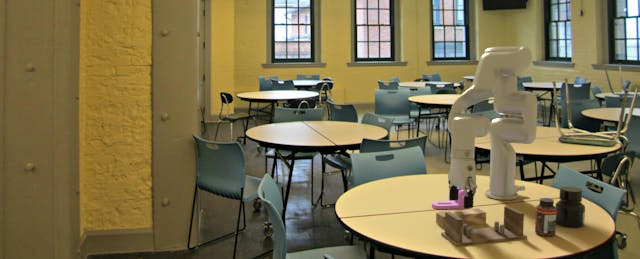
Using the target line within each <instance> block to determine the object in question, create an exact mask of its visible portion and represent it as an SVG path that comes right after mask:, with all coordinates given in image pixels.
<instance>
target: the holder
mask: <svg viewBox="0 0 640 259" xmlns="http://www.w3.org/2000/svg"><path fill="white" fill-rule="evenodd" d="M444 212H445V211H444ZM524 220H525V213H524V212H522V211H520V210H518V209H516V208H514V207H511V206H510V205H507V206H506V205H505V206H504V209H503V223H501V224H500V222H499V221H497V220H495V221H493V222H494V224H493V225H494V226H492V227H491V226H490V227H483V228H474V227H469V225H466V224H464V225H463V219H461V218H460V217H458V216H456V215H455V214H453V213H451V212H445V227H444V232H441V233H440V234H441V236H442V237H443V238H445V239H446V240H447V241H449V242H451V243H452V244H453V245H455V247H462V246H470V245H479V244H481V245H482V244H488V243H489V244H490V243H497V242H506V241H507V240H508V241H515V240H514V239H517V240H525V239H524V238H526V239H527V238H528V235H527V234H524V224H525V222H524ZM508 241H507V242H508Z"/></svg>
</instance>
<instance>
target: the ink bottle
mask: <svg viewBox="0 0 640 259" xmlns="http://www.w3.org/2000/svg"><path fill="white" fill-rule="evenodd" d="M554 206H555V207H556V209H557V212H556V225H559V226H562V227H565V228H580V227H583V226H584V225H585V219H586V218H585V217H586V206H585V205H584V204H583V189H582V188H579V187H576V186H575V187H574V186H561V187H559V200H558V201H557V202H555V205H554Z"/></svg>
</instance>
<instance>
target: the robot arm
mask: <svg viewBox="0 0 640 259" xmlns="http://www.w3.org/2000/svg"><path fill="white" fill-rule="evenodd" d="M532 59H533V54H532V51H531V49H530V48H529V47H527V46H521V45H520V46H515V45H514V46H492V47H491V46H490V47H488V48H486V49H485V50H484V52H483V54H482V55H481V56H480V58H479V60H478V63H477V65H476V70H475V73H474V77H473V79H472V83H471V86H470V88H468V89H467V90H466V91H464V92H463V93H462V94H460V96H459V97H457V98H456V100H454V102H453V104H452V105H451V108H450V112H449V114H448V119H447V125H446V126H447V129H448V132H449V133H450V135H451V147H450V148H451V149H450V165H449V166H450V168H449V173H448V174H447V179H448V181H447V182H448V189H449V196H448V201H454V200H458V192H459V189H457V188H460V189H463V190H464V193H465V196H464V208H465V209H474V197H475V195H476V192H477V189H478V185H477V170H476V168H477V167H476V161H475V160H476V159H475V153H476V152H475V151H476V150H475V149H476V147H475V146H476V145H475V144H476V138H484V137H486V136H487V135H489V141H490V161H489V164H490V165H489V189H488V190H485V191H484V192H485V193H484V195H485V196H486V197H488V198H490V199H494V200H499V201H500V200H501V201H502V200H503V201H510V200H511V201H513V200H516V199H518V198H519V194H518V192H519V191H520V192H522V191H523V192H524V191H525V190H526V186H525V185H517V184H516V162H517V161H516V159H517V155H516V151H515V149H514V146H513V145H512V144H520V145H530V144H533V143H534V142H535V141H536V138H537V131H538V130H537V129H538V128H537V123H538V121H537V120H538V99H537V96H536V94H535V93H534V92H533V91H527V90H518V78H517V76H518V75H521V74H522V73H523V72H525V71H526V70H527V69H528V68H530V65H531V64H532V61H533V60H532ZM491 98H493V110H494V112H495V113H496V114H498V115H503V116H516V117H517V116H518V117H519V116H520V117H522V118H514V117H513V118H511V117H510V118H509V117H498V118H497V117H496V118H494V119H492V120H491V121H490V119H489V118H488V117H487V116H485V115H480V114H479V115H478V114H469V113H468V114H467V113H466V114H465V113H464V112H465V111H466V110H467V109H468V108H470V107H471V106H473V105H476V104H478V103H480V102H483V101H486V100H489V99H491ZM463 113H464V114H463Z"/></svg>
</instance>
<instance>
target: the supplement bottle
mask: <svg viewBox="0 0 640 259" xmlns="http://www.w3.org/2000/svg"><path fill="white" fill-rule="evenodd" d="M555 206H556V205H555V200H554V199H553V198H549V197H541V198H540V199H539V203H538V204H537V205H536V208H535V221H534V222H535V226H534V232H535V233H536V234H537V235H539V236H541V235H542V237H553V236H555V234H556V228H557V227H556V225H557V223H556V212H557V209H556V207H555Z"/></svg>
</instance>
